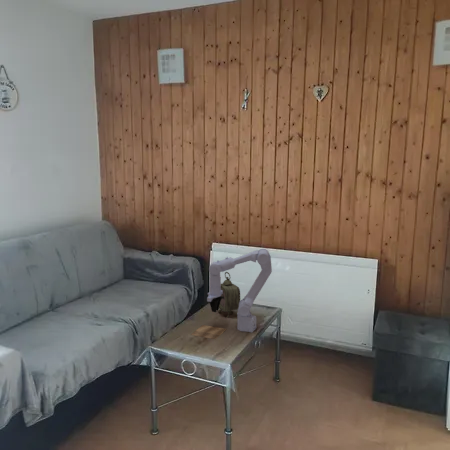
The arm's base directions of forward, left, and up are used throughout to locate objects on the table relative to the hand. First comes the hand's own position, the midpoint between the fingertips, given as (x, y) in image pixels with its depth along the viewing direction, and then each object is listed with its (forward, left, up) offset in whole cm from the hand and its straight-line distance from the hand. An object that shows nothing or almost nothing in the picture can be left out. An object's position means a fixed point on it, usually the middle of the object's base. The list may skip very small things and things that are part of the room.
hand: (215, 311), depth 225 cm
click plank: (+1, +3, -10) cm, 11 cm away
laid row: (+1, +10, -10) cm, 15 cm away
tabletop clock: (+3, -23, -11) cm, 26 cm away
